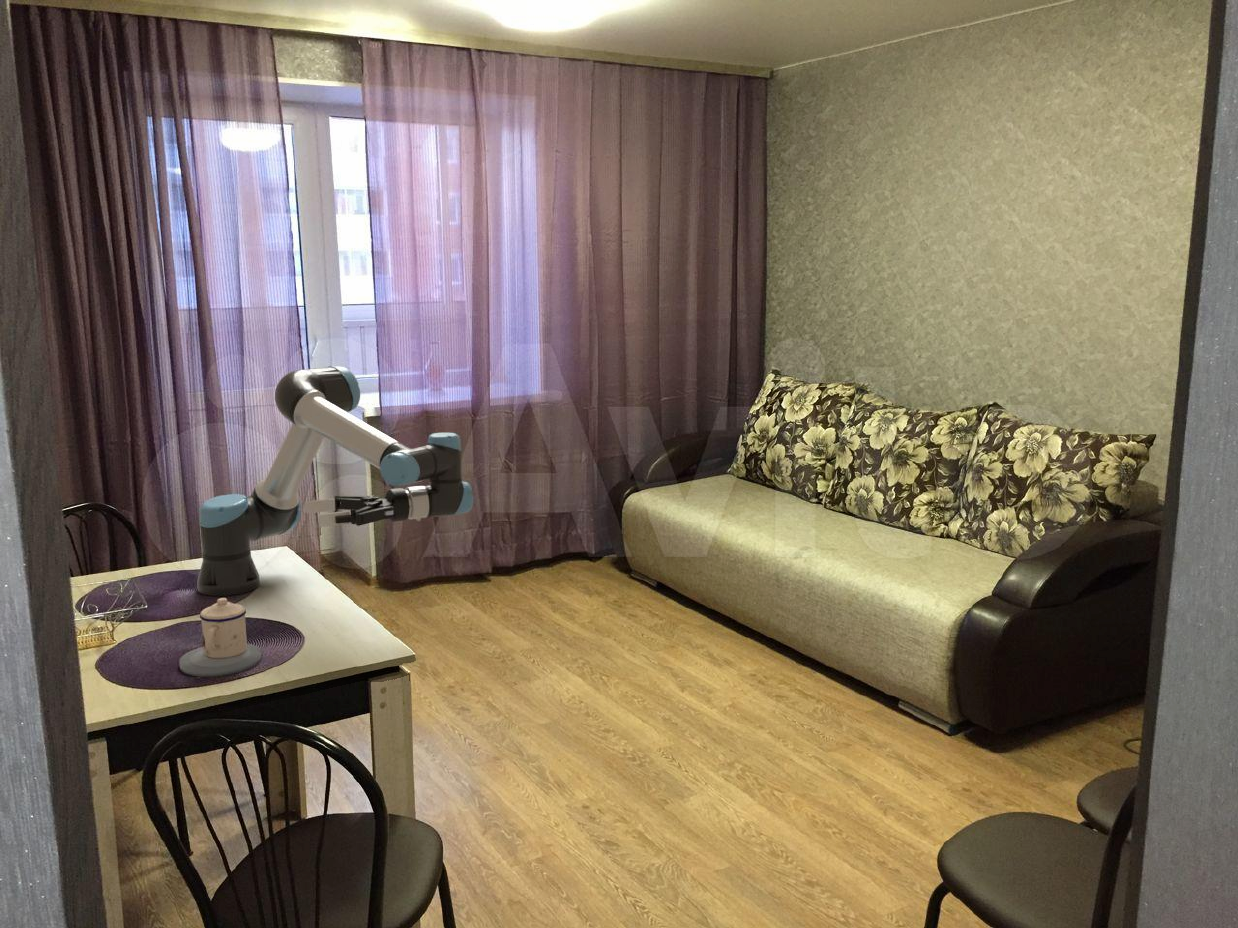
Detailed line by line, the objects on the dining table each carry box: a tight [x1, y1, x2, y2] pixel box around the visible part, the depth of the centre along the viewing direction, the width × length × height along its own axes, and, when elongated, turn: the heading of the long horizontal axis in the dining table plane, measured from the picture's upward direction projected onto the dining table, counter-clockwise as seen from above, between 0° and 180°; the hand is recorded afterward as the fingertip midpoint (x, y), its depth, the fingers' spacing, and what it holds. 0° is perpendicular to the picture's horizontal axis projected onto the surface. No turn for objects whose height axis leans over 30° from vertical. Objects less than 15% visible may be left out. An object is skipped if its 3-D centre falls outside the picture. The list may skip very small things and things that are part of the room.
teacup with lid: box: [199, 597, 248, 658], centre depth 215 cm, size 12×9×12 cm
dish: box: [178, 643, 262, 678], centre depth 216 cm, size 16×16×1 cm
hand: (312, 513), depth 227 cm, fingers open, 13 cm apart
